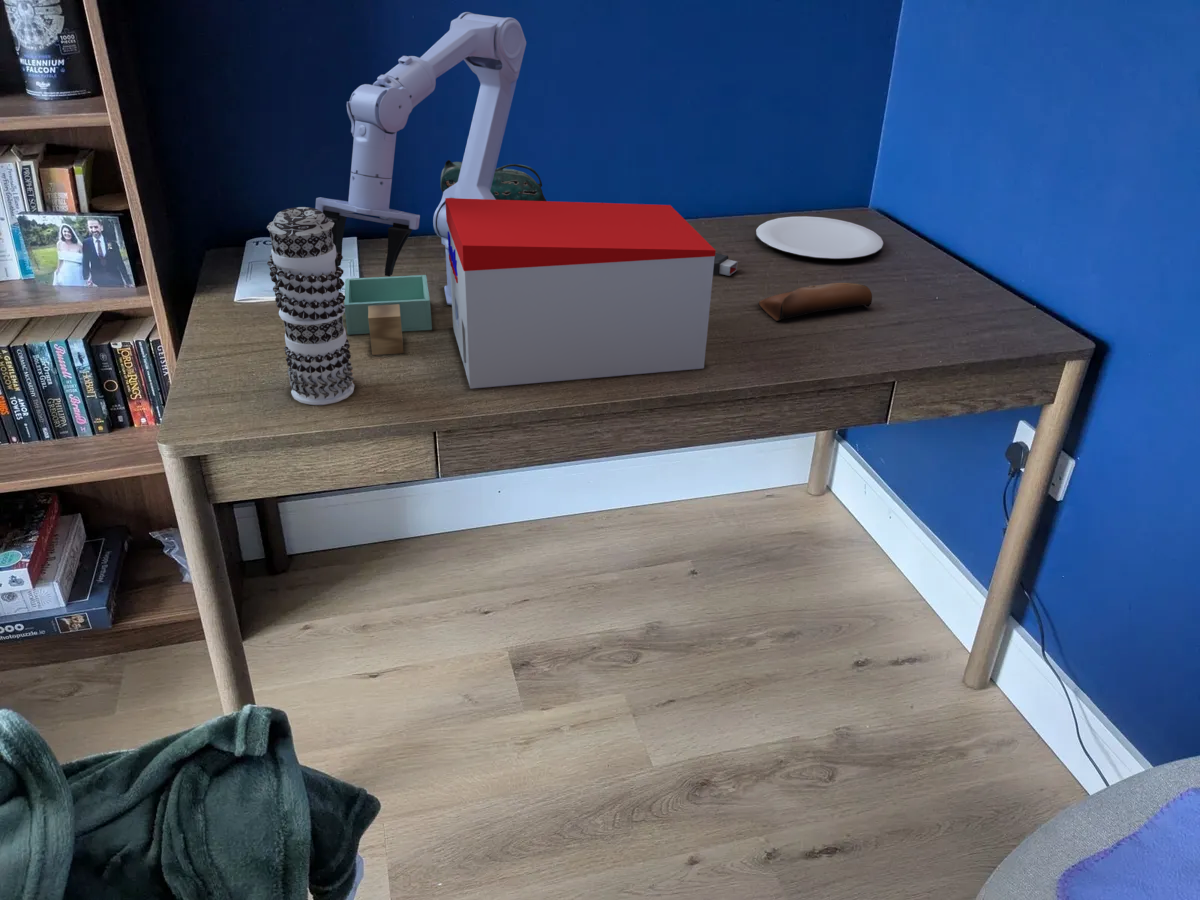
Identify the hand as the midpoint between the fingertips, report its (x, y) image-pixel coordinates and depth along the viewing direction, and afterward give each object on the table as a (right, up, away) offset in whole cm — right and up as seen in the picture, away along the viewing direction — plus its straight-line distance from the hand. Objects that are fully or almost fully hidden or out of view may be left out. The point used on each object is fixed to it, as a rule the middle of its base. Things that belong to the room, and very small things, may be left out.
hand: (362, 270), depth 140 cm
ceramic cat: (+15, +11, +42) cm, 46 cm away
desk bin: (+1, -5, +14) cm, 15 cm away
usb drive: (+54, +7, +38) cm, 66 cm away
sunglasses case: (+71, -2, +23) cm, 75 cm away
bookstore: (+31, -11, +6) cm, 33 cm away
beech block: (+3, -11, +5) cm, 12 cm away
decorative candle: (-4, -18, -7) cm, 20 cm away
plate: (+78, +15, +51) cm, 95 cm away
